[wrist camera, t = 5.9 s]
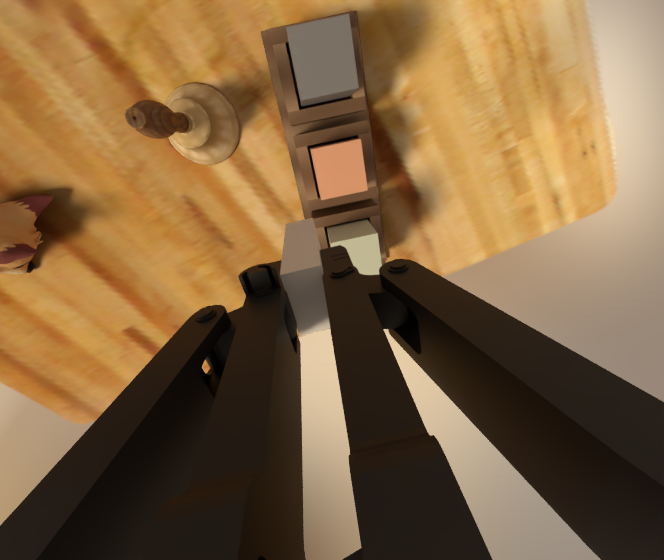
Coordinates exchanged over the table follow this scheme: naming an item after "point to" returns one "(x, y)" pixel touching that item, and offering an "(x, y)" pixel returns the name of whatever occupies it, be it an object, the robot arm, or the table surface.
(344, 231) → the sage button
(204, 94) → the hand bell
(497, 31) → the table surface
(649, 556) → the robot arm
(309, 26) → the grey square block
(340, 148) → the terracotta button
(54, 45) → the table surface
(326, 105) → the wooden base
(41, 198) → the figurine
